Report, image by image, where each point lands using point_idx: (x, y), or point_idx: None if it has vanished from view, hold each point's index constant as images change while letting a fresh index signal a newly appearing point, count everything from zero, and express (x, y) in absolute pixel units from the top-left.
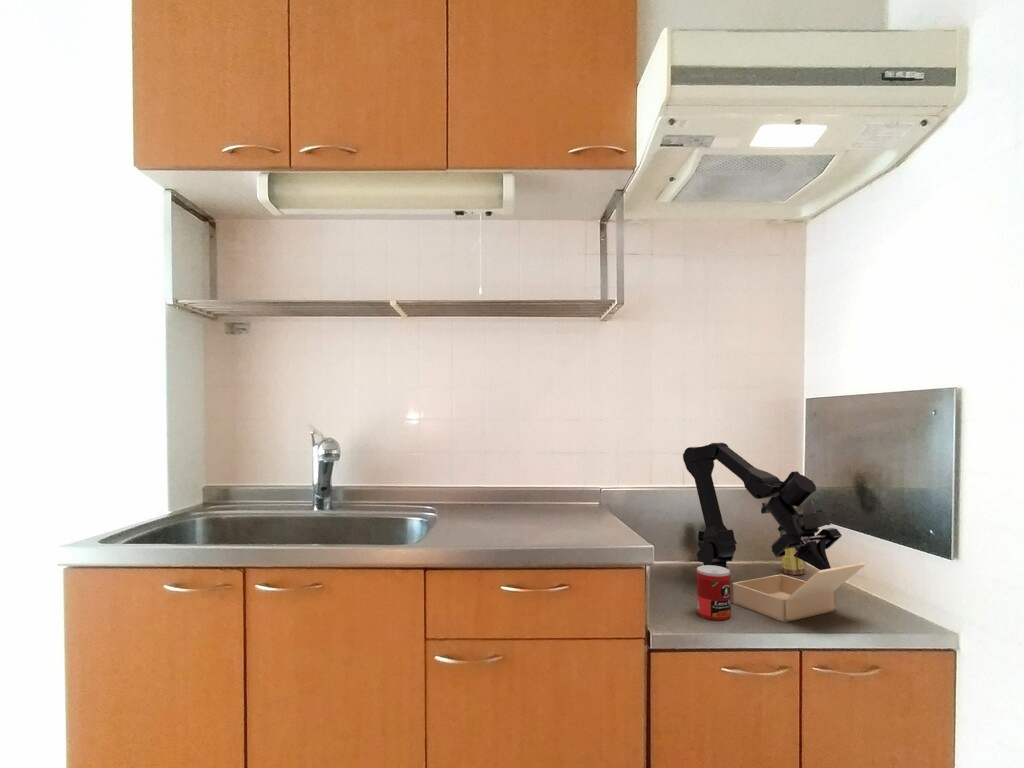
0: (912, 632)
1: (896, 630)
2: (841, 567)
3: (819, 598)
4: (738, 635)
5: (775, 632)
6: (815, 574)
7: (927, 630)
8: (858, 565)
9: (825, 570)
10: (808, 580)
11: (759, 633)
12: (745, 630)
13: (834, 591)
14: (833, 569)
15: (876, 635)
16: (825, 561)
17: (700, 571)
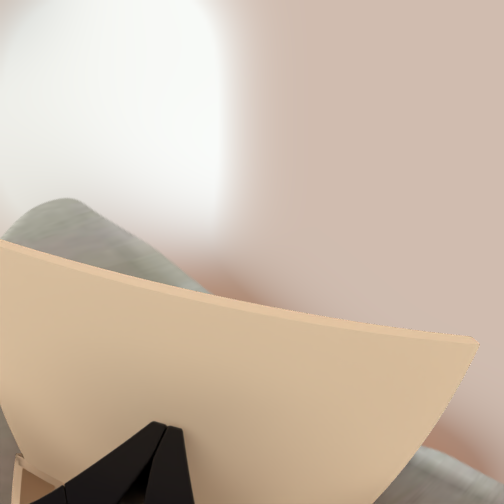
0: (104, 233)
1: (113, 263)
2: (206, 298)
3: None
4: (486, 476)
5: (417, 465)
6: (459, 376)
7: (69, 217)
8: (24, 247)
9: (418, 335)
10: (422, 437)
11: (450, 473)
12: (455, 500)
13: (23, 456)
14: (328, 319)
15: (198, 285)
16: (130, 485)
17: None
